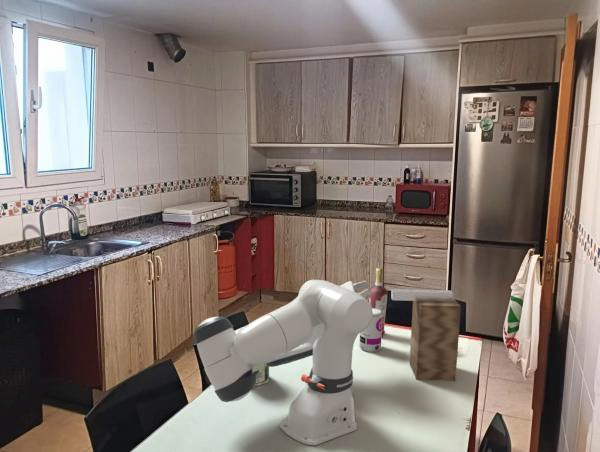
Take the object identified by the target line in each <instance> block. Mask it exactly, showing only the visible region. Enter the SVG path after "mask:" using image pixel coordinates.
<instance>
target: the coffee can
mask: <svg viewBox="0 0 600 452" xmlns="http://www.w3.org/2000/svg"><path fill="white" fill-rule="evenodd" d="M257 370H259V373H258V374H257V375H256V383H255V385H254V387H257V386H262V385H264V384H267V383H268V382H269V381H270V367H269V366H267V365H266V364H265V363H260V364H257V365H255V366H254V367H253V369H252V372H254V371H257Z"/></svg>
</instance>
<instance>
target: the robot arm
mask: <svg viewBox="0 0 600 452" xmlns="http://www.w3.org/2000/svg"><path fill="white" fill-rule="evenodd" d="M365 287H368V283H367V281H366V280H365V279H364V280H363V281H360V282H355V283H353V281H351V280H350V281H346V282H345V283H343V284H341V285H337V284H335V283H333V282H330V281H327V280H323V279H310V280H307V281H306V282H304V283H303V284H302V285H301V287H300V288H299V292H298V295H297V296H296V297H295V298H294V299H293V300H291V301H290V302H289V303H287V304H285V305H283V306H281V307H279V308H276V309H274V310H273V311H271V312H268V313H266V314H263V315H262V316H260V317H258V318H256V319H255V320H253V321H251V322H249V324H246V325H244V326H243V327H242V326H241V327H240V328H237V329H236V330H234V328H233V327H234V324H232V322H231V321H230V320H229V319H228V318H227V317H225V316H212V317H208V318H206V319H205V320H203V321H201V323H200V324H199V325H198V326H197V327H195V329H194V331H193V341H194V345H196V346H197V350H198V355H199V357H200V360H201V362H202V365H203V367H204V368H203V369H204V372H205V373H206V376H207V378H208V380H209V382H210V384H211V385H212V387H213V389H214V393H215V394H216V396H217V397H218V398H219V400H220V401H221V402H223V403H229V402H237V401H240V400H242V399H244V398H245V397H246V396H248V395H249V394H250V392H251V391H252V390H253V389H254V387H255V386H254V385H255V383H256V375H257V374H258V373H259V370H257V371H254V372H252V369H253V367H254V366H255V365H257V364H260V363H265V364H266V365H267V366H269V368H273V367H279V366H282V365H286V364H290V363H292V362H296V361H298V360H302V359H307V358H309V357H312V367H311V370H310V373H309V375H307V374H305V373H303V374H302V375H301V378H300V380H301V381H302V382H303V383H305V384H306V385H305V386H304V388H303V389H301V391H300V393H298V395H297V396H296V398H294V400H293V401H292V402H291V403H290V406H289V410H288V415H286V416H285V417H283V418H282V419H281V420H280V421H279V427H280V429H281V430H282V431H283V432H284V433H285V434H286V435H288V436H289V437H290V438H292V439H294V440H296V441H297V442H299V443H301V444H305V445H308V446H309V445H310V446H317V445H320V444H323V443H325V442H328V441H331V440H333V439H336V438H339V437H341V436H344V435H347V434H349V433H351V432H354V431H356V430H358V426H357V422H356V414H355V405H354V404H355V403H354V402H355V401H354V396H353V395H354V394H353V390H352V389H353V388H352V386H353V383H354V381H353V380H354V376H353V375H354V374H353V373H354V371H353V370H352V367H353V366H352V364H353V362H352V361H353V351H354V344H355V341H356V339H357V337H358V336H359V335H360V333H361V332H363V331H364V330H365V329H366V328H367V327H368V326H369V324H370V322H371V319H372V307H371V304H370V303H369V301H368V300H367V299H366V297H367V296H369V295H370V289H369V288H365ZM362 288H363V291H361V292H357V291H358V290H359V289H362ZM364 288H365V289H364Z"/></svg>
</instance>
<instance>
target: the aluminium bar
mask: <svg viewBox="0 0 600 452" xmlns="http://www.w3.org/2000/svg"><path fill="white" fill-rule="evenodd" d="M390 295H391V296H390V298H391V300H392V301H408V302H409V301H410V302H413V301H445V302H452V300H453V298H454V297H453V296H454V292H453V291H452V290H450V289H449V290H448V289H447V290H446V289H441V290H440V289H411V288H410V289H408V288H407V289H405V288H404V289H400V288H391V292H390Z"/></svg>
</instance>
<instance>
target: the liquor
mask: <svg viewBox="0 0 600 452" xmlns="http://www.w3.org/2000/svg"><path fill="white" fill-rule="evenodd" d="M383 272H384V268H382V267H376V268H375V283H374V286H373V287H371V288H370V289H369V290H370V295H368V296H369V297H368V298H369V301H368V302H369V303H370V304H371V307H372V308H376V309H379V310H380V311H381V313H382V336H383V335H385V334H386V331H385V326H386V325H385V322H386V311H387V301H388V293H389V292H388V291H389V290H388V289H386V288H385V287H383V274H384V273H383Z"/></svg>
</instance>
